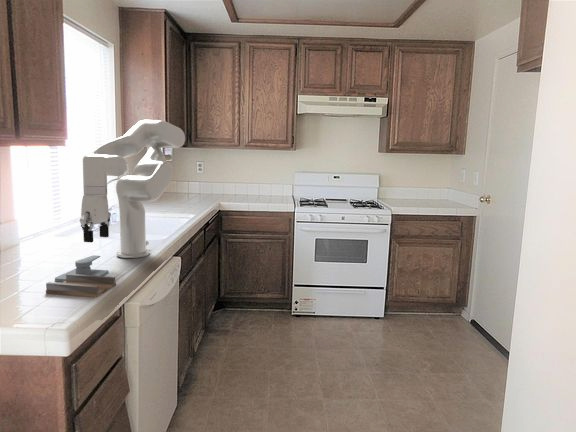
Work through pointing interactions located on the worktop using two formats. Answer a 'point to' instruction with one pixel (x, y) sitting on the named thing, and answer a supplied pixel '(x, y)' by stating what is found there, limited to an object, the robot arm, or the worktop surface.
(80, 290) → the stand
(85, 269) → the shower valve
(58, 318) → the worktop surface
